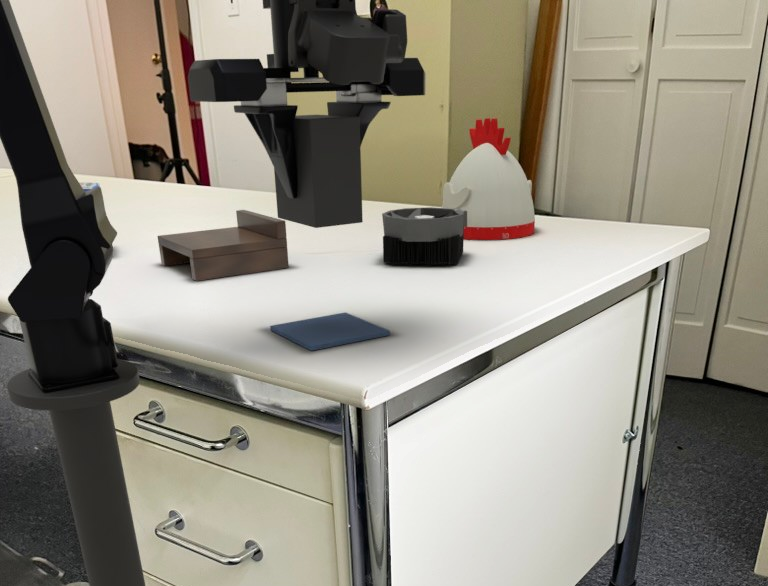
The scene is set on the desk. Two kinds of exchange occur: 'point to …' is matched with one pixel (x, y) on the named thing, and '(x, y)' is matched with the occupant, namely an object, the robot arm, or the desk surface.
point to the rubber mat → (329, 331)
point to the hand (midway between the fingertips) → (317, 195)
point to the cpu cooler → (423, 235)
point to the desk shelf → (229, 248)
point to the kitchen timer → (491, 188)
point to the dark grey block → (324, 172)
